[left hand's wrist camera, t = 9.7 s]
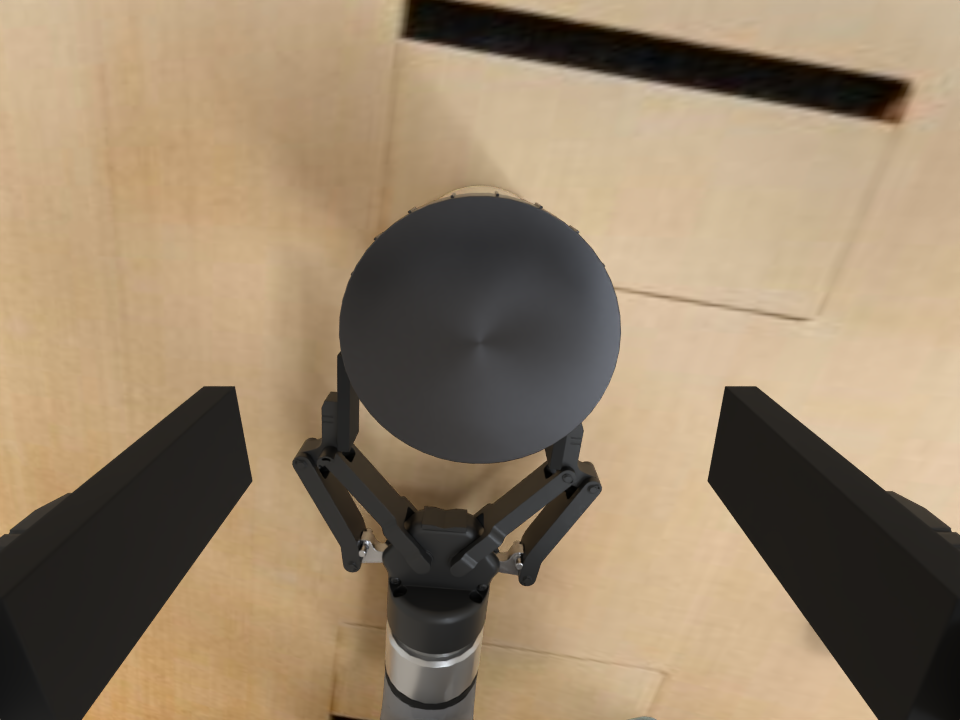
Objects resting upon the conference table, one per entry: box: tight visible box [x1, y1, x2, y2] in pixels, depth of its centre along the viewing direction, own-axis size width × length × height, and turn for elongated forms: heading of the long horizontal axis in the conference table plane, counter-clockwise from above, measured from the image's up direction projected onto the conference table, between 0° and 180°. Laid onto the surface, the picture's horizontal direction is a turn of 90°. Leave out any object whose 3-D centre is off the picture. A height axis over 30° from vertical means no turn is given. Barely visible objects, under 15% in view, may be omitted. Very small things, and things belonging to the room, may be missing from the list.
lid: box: [339, 191, 621, 464], centre depth 21 cm, size 11×11×2 cm
